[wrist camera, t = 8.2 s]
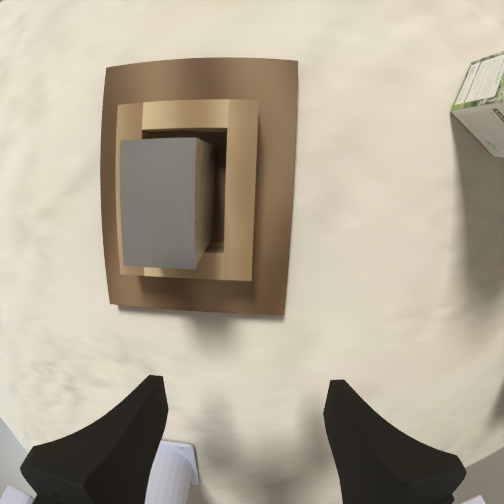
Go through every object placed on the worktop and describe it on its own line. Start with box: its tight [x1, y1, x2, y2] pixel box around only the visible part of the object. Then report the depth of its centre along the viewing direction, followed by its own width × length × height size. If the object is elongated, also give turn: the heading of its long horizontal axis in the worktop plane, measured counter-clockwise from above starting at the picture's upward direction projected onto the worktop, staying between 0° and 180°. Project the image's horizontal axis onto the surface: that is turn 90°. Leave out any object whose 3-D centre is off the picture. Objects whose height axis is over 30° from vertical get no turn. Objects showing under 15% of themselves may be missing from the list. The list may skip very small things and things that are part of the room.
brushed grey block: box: [120, 138, 217, 270], centre depth 15 cm, size 3×5×7 cm, turn 178°
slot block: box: [100, 58, 298, 315], centre depth 17 cm, size 12×16×4 cm
